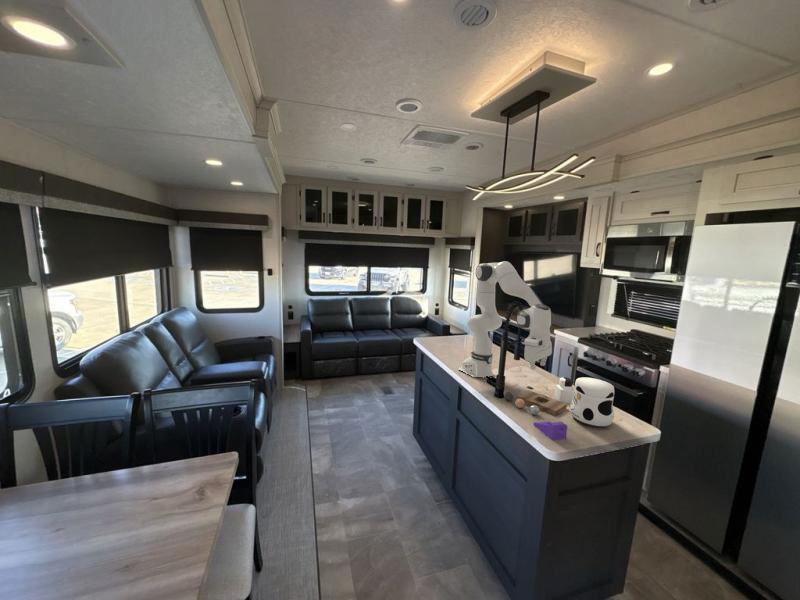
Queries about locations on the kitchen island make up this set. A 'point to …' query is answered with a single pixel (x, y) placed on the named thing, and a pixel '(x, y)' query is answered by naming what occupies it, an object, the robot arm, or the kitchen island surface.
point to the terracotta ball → (520, 403)
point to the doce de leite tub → (593, 402)
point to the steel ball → (534, 410)
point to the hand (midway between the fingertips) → (538, 367)
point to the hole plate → (549, 406)
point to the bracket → (552, 429)
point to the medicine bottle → (564, 390)
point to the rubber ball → (508, 396)
